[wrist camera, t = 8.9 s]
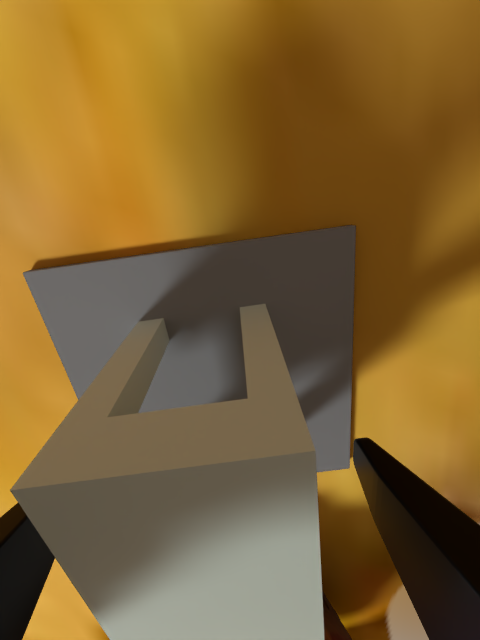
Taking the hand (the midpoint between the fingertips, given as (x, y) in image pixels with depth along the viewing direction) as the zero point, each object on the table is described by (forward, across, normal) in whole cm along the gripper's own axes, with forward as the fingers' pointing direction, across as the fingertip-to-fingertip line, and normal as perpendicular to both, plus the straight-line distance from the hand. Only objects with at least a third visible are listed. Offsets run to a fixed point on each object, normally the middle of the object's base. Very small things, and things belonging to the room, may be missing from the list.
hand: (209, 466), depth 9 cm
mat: (+4, 0, 0) cm, 4 cm away
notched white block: (+4, 0, 0) cm, 4 cm away
